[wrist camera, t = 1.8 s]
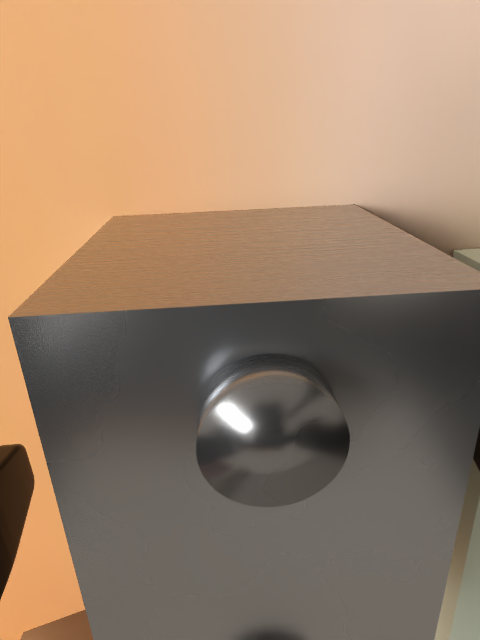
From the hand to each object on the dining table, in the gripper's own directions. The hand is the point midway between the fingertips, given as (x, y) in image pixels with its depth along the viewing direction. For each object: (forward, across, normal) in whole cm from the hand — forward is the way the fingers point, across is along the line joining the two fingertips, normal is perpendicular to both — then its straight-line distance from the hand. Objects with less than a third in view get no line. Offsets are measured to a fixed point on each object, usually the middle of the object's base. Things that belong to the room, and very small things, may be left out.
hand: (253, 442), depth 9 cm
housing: (+3, 0, 0) cm, 3 cm away
